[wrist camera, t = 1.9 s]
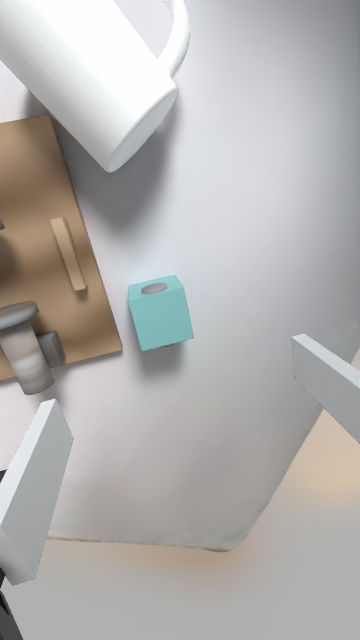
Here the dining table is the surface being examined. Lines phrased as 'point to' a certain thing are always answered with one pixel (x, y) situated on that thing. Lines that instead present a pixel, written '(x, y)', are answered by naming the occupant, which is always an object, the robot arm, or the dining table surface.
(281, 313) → the dining table surface
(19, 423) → the dining table surface
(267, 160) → the dining table surface
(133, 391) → the dining table surface
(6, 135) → the shaft board
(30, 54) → the mug
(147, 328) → the block
